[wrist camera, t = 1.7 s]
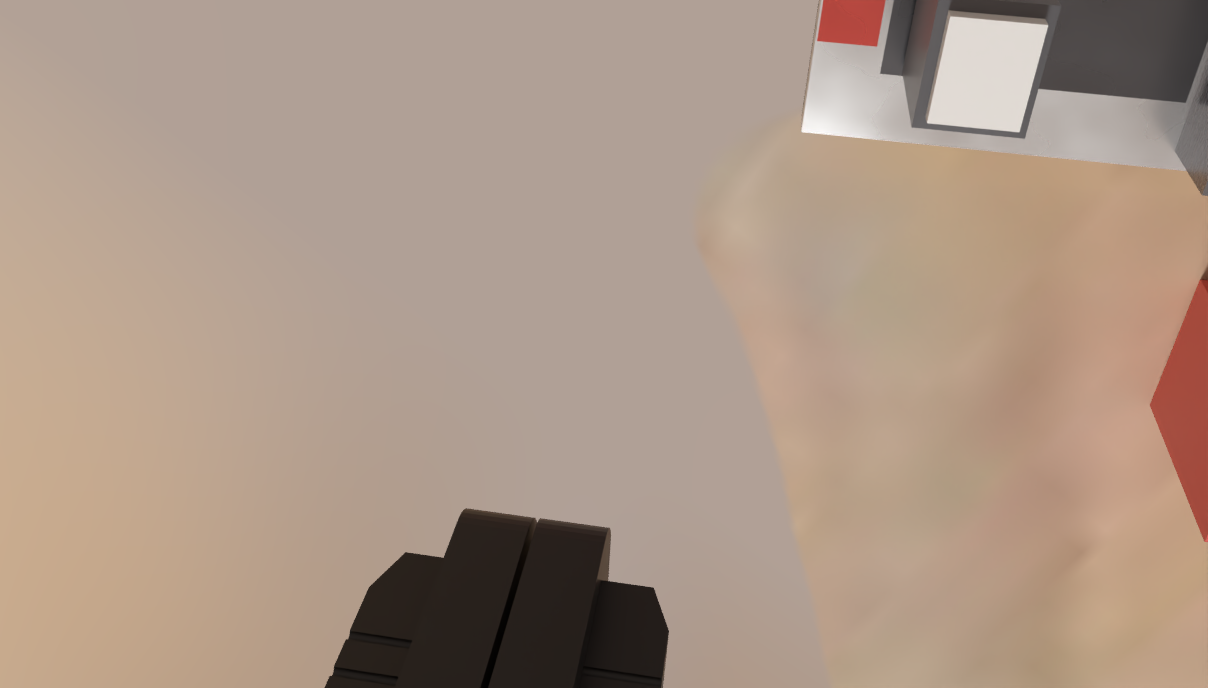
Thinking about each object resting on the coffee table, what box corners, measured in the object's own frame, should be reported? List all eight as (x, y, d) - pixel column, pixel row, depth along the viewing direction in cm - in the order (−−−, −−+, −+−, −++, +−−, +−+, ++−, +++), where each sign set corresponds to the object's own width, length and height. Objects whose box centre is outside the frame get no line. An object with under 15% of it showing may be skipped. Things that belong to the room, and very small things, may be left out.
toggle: (1034, -41, 26) (1064, 12, 23) (1003, 81, 28) (1027, 145, 25) (926, -50, 27) (941, 0, 23) (902, 72, 28) (913, 134, 25)
